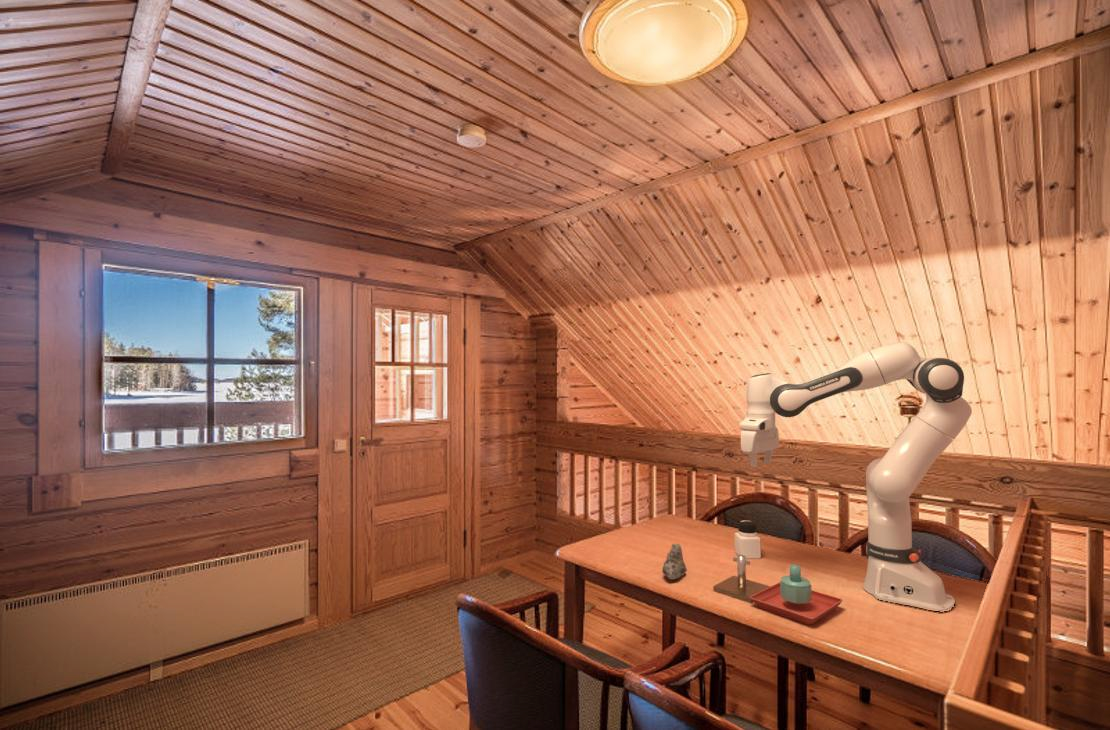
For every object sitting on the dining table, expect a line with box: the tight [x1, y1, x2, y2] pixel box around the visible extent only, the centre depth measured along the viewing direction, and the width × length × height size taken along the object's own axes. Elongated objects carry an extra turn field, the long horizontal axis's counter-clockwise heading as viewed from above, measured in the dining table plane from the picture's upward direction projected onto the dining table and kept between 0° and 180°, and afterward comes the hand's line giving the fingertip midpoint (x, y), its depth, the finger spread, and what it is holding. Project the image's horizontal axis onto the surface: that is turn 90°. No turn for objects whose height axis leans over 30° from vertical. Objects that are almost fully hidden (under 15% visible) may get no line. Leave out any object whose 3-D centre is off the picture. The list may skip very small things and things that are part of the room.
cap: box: [779, 563, 812, 603], centre depth 150 cm, size 7×7×9 cm
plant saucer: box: [750, 581, 843, 626], centre depth 150 cm, size 18×18×3 cm
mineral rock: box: [661, 542, 688, 580], centre depth 175 cm, size 13×11×10 cm
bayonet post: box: [712, 554, 771, 604], centre depth 161 cm, size 12×12×10 cm
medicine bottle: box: [734, 520, 762, 560], centre depth 193 cm, size 7×7×12 cm
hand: (760, 465), depth 176 cm, fingers open, 8 cm apart
